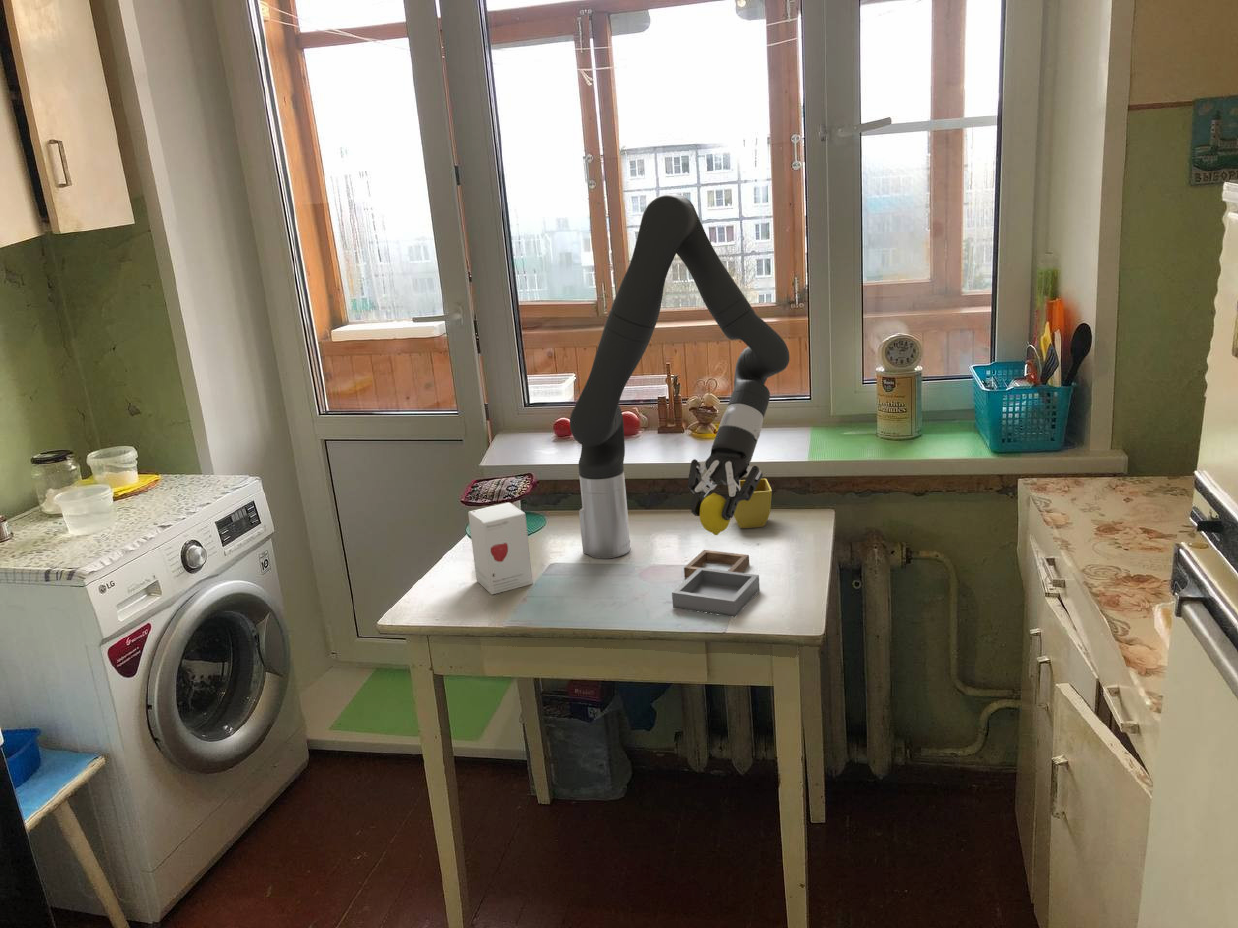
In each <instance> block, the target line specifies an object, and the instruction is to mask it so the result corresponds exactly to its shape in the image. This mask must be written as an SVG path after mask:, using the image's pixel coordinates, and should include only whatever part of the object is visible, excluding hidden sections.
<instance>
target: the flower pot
mask: <svg viewBox="0 0 1238 928" xmlns="http://www.w3.org/2000/svg"><path fill="white" fill-rule="evenodd" d="M745 480H746V479H742V480H741V479H740V488H741V487H742V486H743V484H744V482H745ZM727 488H728V491H729V486H727ZM772 493H773V490H772V487H771V485H770V483H769V482H768V479H767V478H761V479H760V481H759V483H758V485H757V487H756V489H755V491H754V493H753V495H752V496H751V498H750V500H748V501H746V500H741V501H740V502H738V504H737V507H736V510H735V513H734V516H733V517H734V519H735V521H736V523H737V525H738V527H739V528H740V529H749V528H750V529H751V528H762V527H765V524H767V522H768V520H769V516H770V513H771V508H772V507H771V506H772V496H773V495H772ZM728 495H729V494H728ZM728 497H730V495H729V496H728Z"/></svg>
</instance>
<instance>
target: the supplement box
mask: <svg viewBox="0 0 1238 928" xmlns="http://www.w3.org/2000/svg"><path fill="white" fill-rule="evenodd" d="M467 514H468V523H469V531H470V537H471V538H470V539H471V547H472V554H473V563H474V569H475V579H476V582H478V583H479V585H481V586H482V587H483V588H484V589H485V590H486V591H487V592H488V593H489V594H490V595H491V596H492V595H495V594H499V593H503V592H507V591H511V590H515V589H518V588H522V587H527V586H530V585H533V584H534V580H533V572H532V571H533V570H532V562H531V556H530V555H531V554H530V553H531V552H530V544H529V543H530V542H529V537H528V535H529V534H528V524H527V517H526V513H525V512H524V511H523V510H521V509H520V508H518V506H517V507H516V505H514V504H512V503H511V502H504V503H499V504H496V505H491V506H486V507H482V508H479V509H474V510H470V511H468V512H467Z"/></svg>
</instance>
